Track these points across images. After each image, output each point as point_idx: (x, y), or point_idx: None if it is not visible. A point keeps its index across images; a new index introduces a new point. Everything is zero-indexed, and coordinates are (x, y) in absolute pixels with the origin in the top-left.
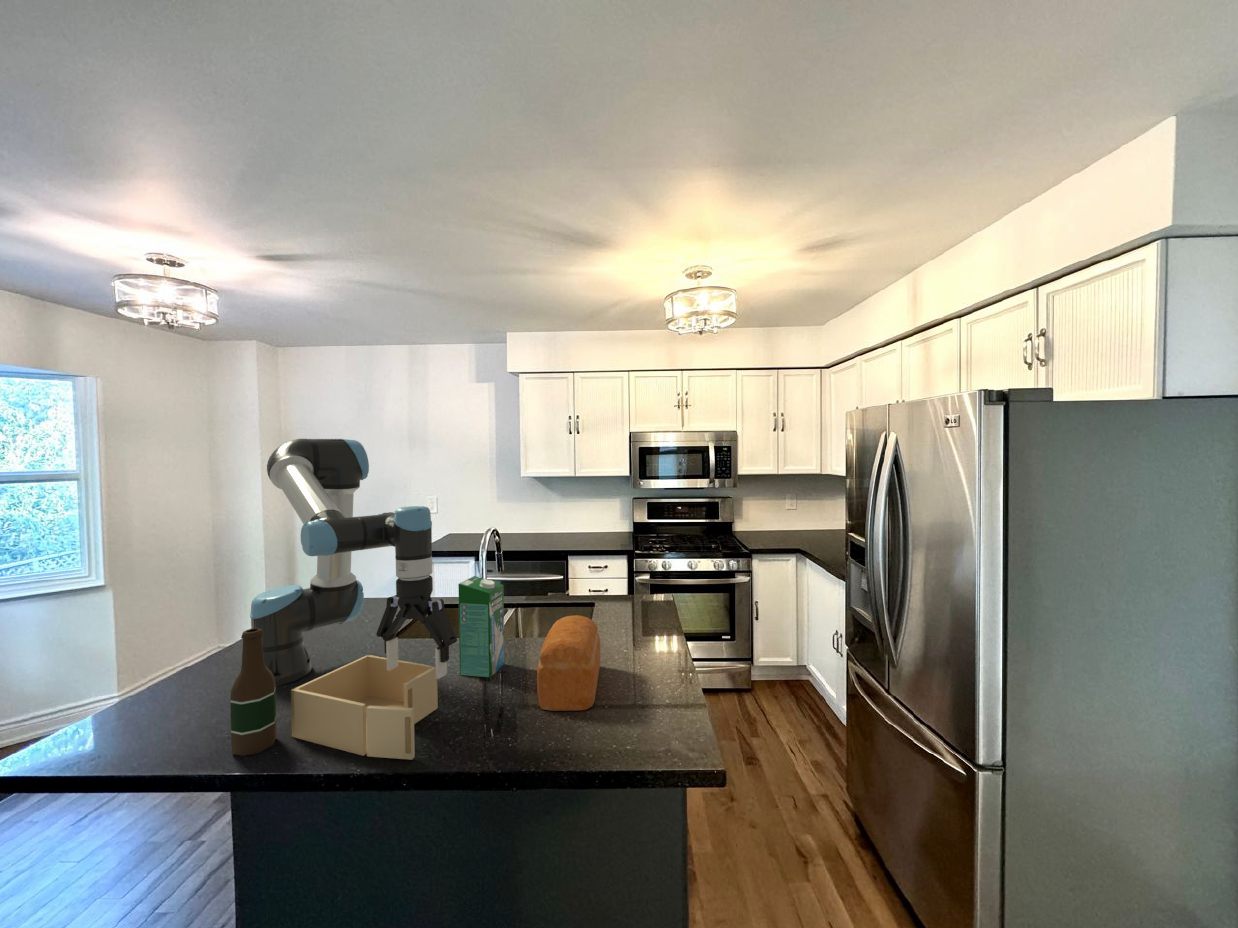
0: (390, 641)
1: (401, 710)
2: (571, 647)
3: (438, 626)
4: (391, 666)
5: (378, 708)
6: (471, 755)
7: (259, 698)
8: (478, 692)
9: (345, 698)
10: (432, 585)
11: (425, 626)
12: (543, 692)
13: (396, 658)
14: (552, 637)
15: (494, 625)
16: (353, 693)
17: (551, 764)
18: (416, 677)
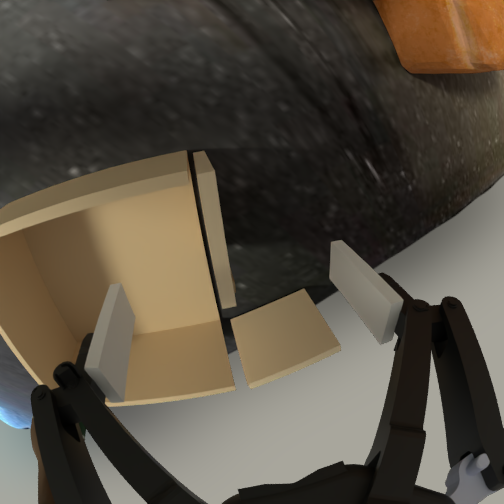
0: (120, 395)
1: (322, 358)
2: None
3: (444, 403)
4: (131, 317)
5: (275, 378)
6: (375, 236)
7: (84, 439)
8: (233, 36)
9: (27, 274)
10: None
11: (376, 433)
12: (434, 73)
13: (118, 310)
14: (498, 7)
15: None
16: (18, 256)
17: (456, 202)
18: (219, 265)
